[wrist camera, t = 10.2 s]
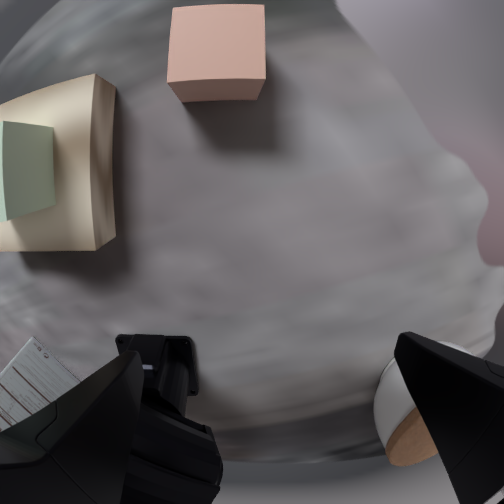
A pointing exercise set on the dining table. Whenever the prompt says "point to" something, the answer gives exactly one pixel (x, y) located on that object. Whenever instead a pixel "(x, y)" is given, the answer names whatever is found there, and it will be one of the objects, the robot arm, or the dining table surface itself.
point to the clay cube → (217, 52)
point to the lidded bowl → (402, 418)
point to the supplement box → (31, 383)
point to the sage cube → (25, 169)
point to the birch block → (69, 167)
